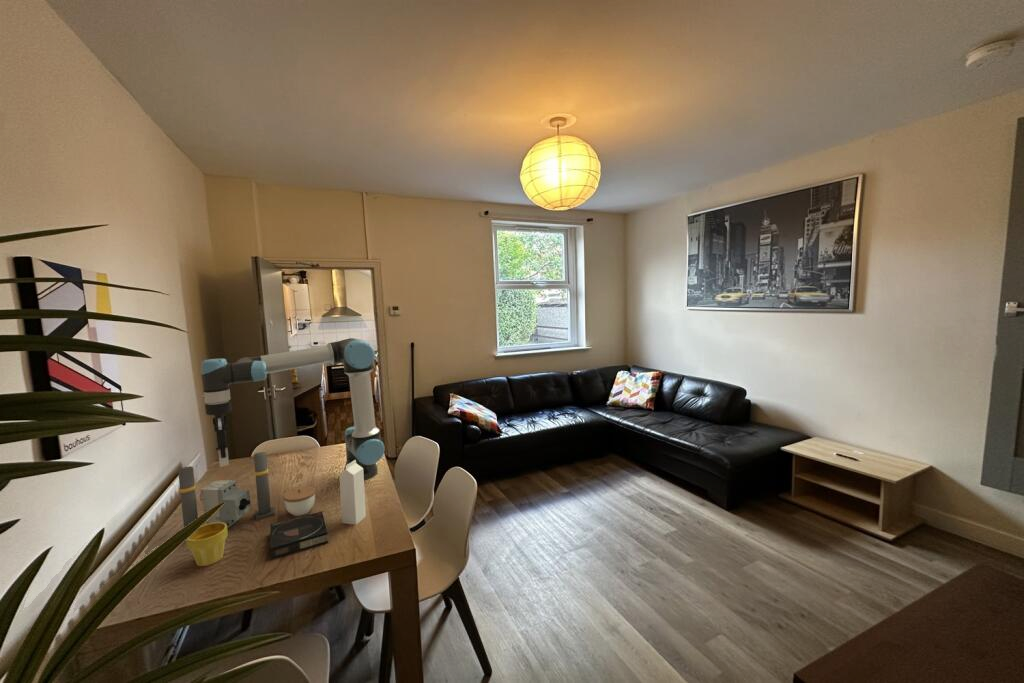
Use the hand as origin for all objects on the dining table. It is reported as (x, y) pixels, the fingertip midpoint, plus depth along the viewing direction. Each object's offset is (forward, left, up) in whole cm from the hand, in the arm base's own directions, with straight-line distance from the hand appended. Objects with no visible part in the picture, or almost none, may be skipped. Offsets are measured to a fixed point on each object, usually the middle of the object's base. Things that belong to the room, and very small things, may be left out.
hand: (224, 465), depth 147 cm
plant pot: (-13, +20, -22) cm, 33 cm away
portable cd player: (-33, +5, -23) cm, 40 cm away
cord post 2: (-9, -7, -22) cm, 25 cm away
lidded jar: (-21, -11, -22) cm, 33 cm away
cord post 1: (+6, +9, -22) cm, 25 cm away
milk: (-45, -9, -22) cm, 51 cm away
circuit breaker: (-1, +1, -22) cm, 22 cm away
